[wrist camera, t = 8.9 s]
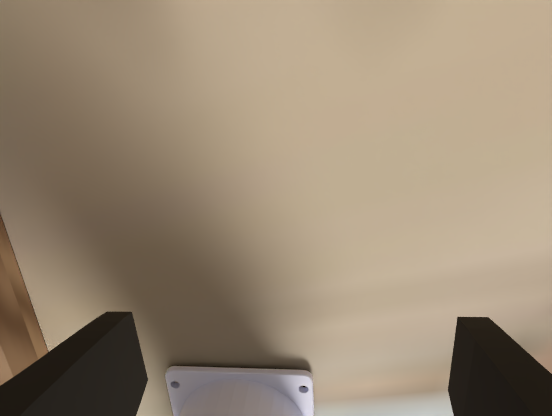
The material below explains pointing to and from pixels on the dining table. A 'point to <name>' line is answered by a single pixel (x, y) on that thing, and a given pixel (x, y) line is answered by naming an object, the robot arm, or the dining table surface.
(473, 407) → the robot arm
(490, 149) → the dining table surface
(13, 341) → the frame
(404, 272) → the dining table surface
